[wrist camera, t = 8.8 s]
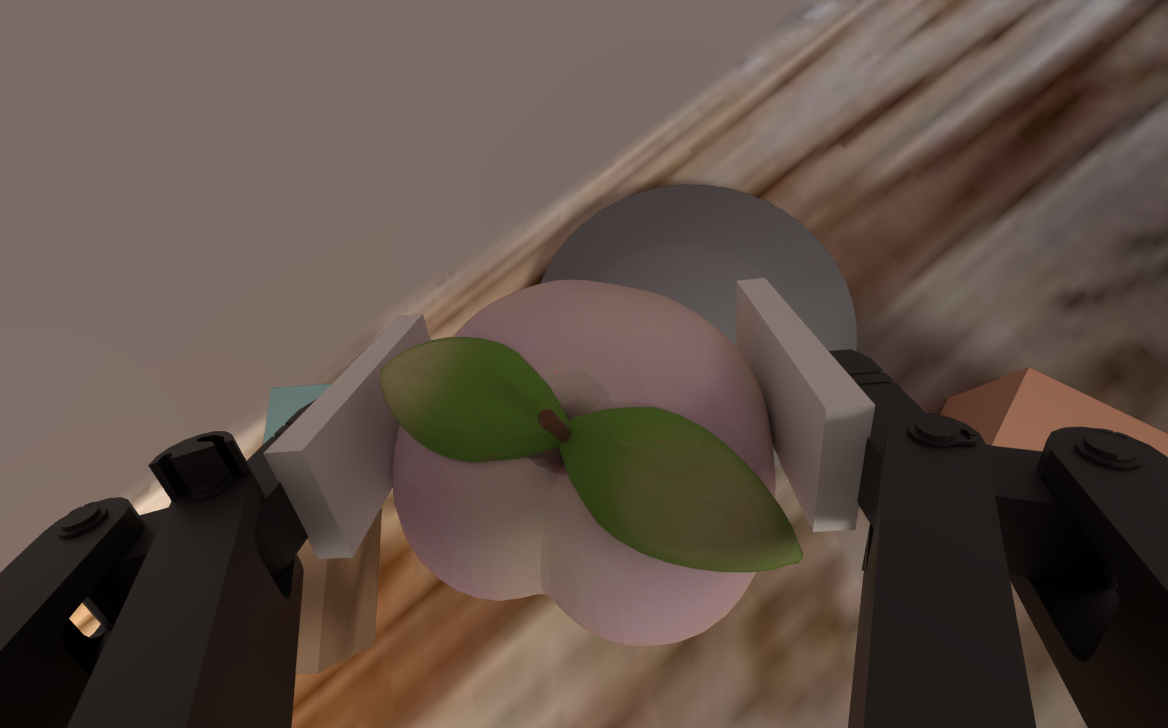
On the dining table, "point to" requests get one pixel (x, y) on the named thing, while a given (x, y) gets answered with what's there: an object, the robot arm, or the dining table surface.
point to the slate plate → (711, 257)
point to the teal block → (288, 404)
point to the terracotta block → (1039, 412)
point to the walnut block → (338, 604)
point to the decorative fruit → (589, 460)
